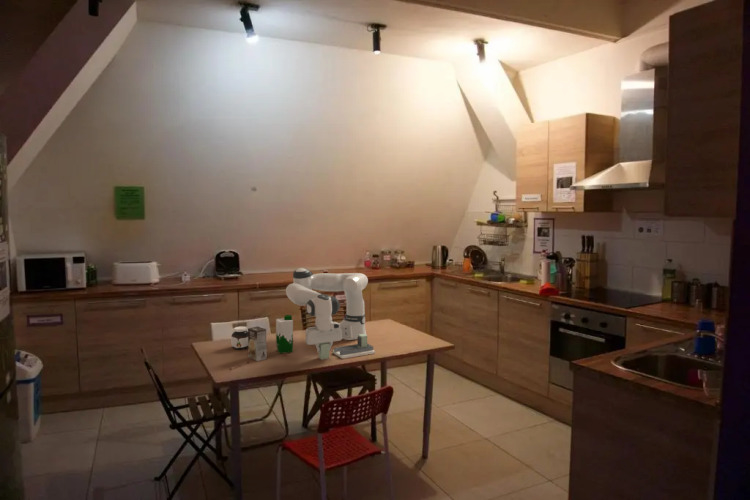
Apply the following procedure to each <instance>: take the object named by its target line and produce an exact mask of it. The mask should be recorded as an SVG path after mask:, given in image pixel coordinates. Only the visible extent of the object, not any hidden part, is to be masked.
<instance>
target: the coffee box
mask: <svg viewBox="0 0 750 500" xmlns="http://www.w3.org/2000/svg"><path fill="white" fill-rule="evenodd" d="M247 331H248V347H247V351H248V353H247V354H248V355H247V357H248V358H249V359H251V360H254V361H255V362H259V361H264V360H267V352H268V351H267V329H266V328H262V327H260V326H253V327H248V328H247Z"/></svg>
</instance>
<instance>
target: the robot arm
mask: <svg viewBox="0 0 750 500" xmlns="http://www.w3.org/2000/svg"><path fill="white" fill-rule="evenodd" d="M292 277H293V279H292V280H293V282H292V283H289V284H288V285H287V286H286V288H285V295H286V296H287V298H288V299H289V300H290V301H291V302H292V303H293V304H295V305H298V306H306V307H305V308H306V309H305V311H306V314H308V315H309V316H311V317H315V321H314V322H315V326H311V327H310V326H308V327H307V328H306V329H305V341H304V342H305V344H306V345H308V346H312V345H314V346H315V347H316V351H317V352H318V353H319V352H320V351H321V348H319V344H320V343H329V351H330V350H332V347H333V343H334V342H339V341H340V342H341V341H342V340H345V341H351V340H352V341H353V340H358V335H359V334H365V335H367V332H366V313H365V300H364V298H363V297H364V295H363V290H364V289H366V287H367V285H368V283H369V279H368V276H367V275H366V274H364V273H360V272H350V273H349V272H344V273H331V272H330V273H327V272H325V273H324V272H322V273H313V272H312V271H310V270H309V269H307V268H306V267H305V268H304V267H300V268H295V270H294V271H293V272H292ZM313 289H314V290H313ZM315 290H317V291H315ZM318 291H321V292H344V295H345V300H346V301H345V302H346V313H345V314H344V315H342V318H343V320H341V321H340V322H336V321H333V317H332V316H333V315H336V314H337V313H338V312H339V310H340V309H341V304H340V301H339V300H338V298H337V297H336V296H333V295H332V296H330V295H329V294H324V293H321V292H318ZM367 336H368V335H367Z"/></svg>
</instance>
